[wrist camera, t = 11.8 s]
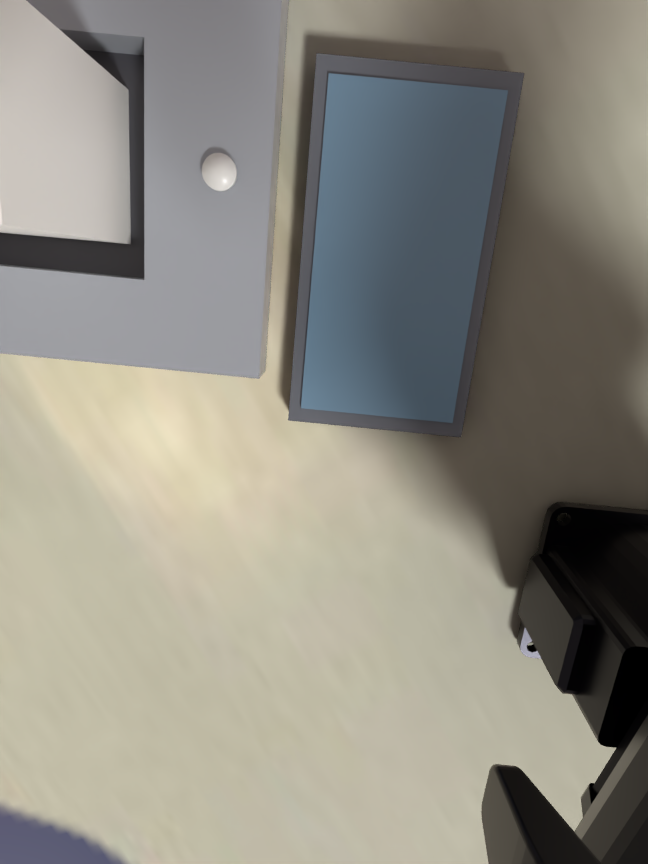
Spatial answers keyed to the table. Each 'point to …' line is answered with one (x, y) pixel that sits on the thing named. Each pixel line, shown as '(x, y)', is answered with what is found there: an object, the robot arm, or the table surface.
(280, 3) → the outlet plate
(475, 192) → the phone
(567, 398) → the table surface
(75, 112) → the block
